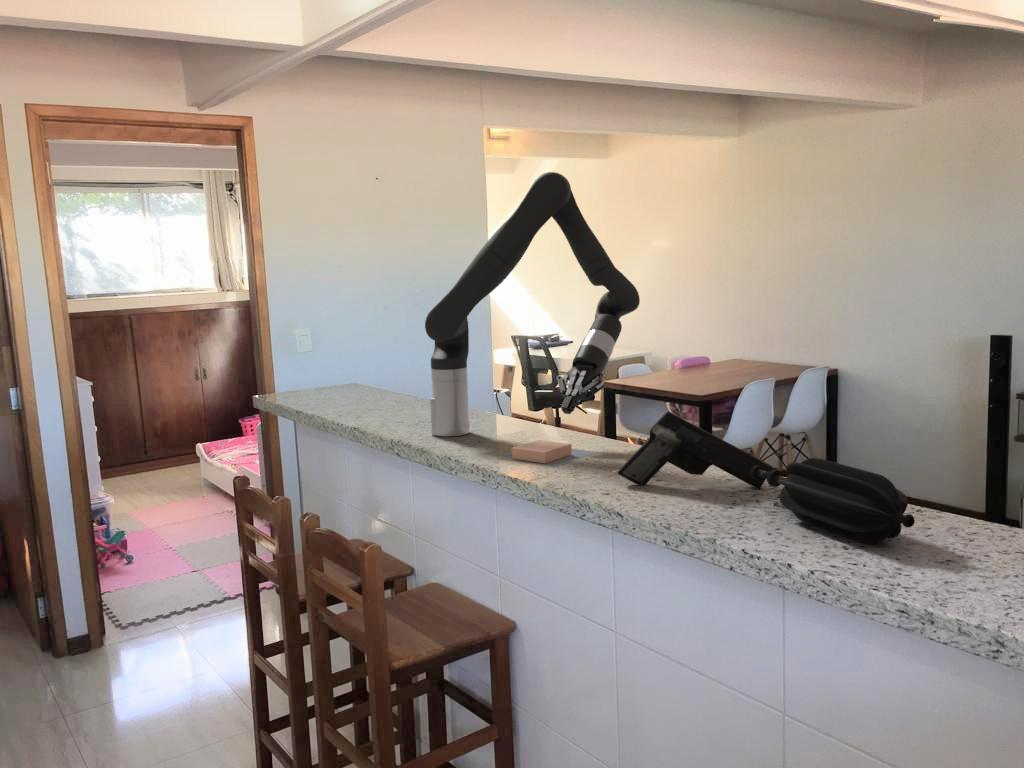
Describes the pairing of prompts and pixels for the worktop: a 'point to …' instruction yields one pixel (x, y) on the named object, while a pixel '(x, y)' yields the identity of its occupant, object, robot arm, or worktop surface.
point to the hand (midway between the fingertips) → (565, 411)
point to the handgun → (688, 453)
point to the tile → (541, 451)
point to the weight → (841, 499)
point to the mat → (575, 456)
